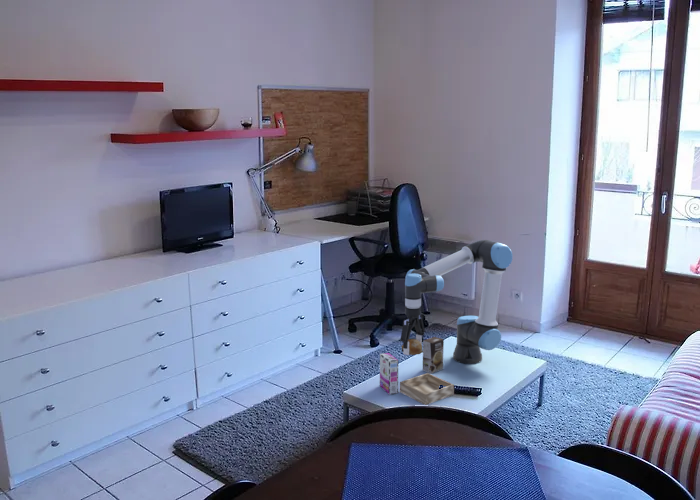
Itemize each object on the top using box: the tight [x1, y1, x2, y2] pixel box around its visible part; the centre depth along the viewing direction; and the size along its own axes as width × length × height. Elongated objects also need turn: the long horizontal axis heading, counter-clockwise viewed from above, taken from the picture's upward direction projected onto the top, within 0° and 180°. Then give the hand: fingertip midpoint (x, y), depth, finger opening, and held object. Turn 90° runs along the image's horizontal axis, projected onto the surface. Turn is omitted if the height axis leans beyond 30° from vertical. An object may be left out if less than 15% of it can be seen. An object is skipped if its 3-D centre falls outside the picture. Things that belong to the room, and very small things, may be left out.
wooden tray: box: [399, 372, 455, 406], centre depth 285 cm, size 18×18×5 cm
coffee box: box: [422, 336, 445, 375], centre depth 312 cm, size 9×6×16 cm
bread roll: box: [400, 338, 423, 356], centre depth 294 cm, size 10×10×8 cm
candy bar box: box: [379, 352, 399, 396], centre depth 289 cm, size 11×5×16 cm, turn 21°
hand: (412, 351), depth 295 cm, fingers closed on bread roll, 10 cm apart
